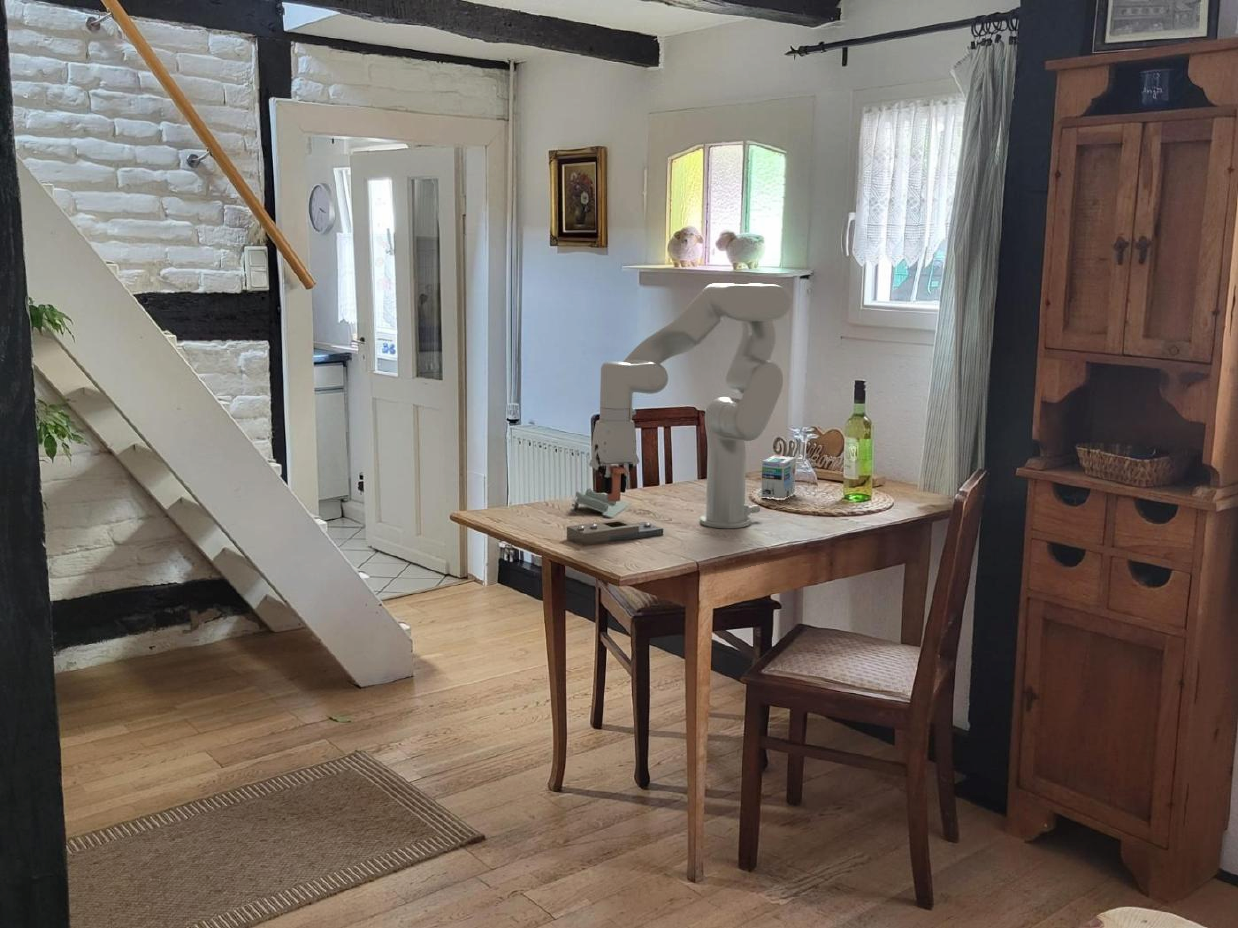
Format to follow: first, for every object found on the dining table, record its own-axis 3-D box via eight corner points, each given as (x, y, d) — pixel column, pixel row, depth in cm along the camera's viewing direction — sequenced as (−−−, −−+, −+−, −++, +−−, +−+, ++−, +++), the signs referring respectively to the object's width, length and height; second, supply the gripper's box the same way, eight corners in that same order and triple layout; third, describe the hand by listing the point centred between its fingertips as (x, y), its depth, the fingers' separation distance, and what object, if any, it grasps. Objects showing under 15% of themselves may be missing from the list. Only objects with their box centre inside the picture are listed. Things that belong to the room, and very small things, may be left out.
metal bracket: (567, 494, 291) (585, 482, 305) (561, 514, 292) (580, 502, 306) (619, 513, 288) (634, 501, 302) (612, 534, 289) (628, 521, 303)
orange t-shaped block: (611, 496, 271) (612, 463, 270) (627, 502, 266) (628, 468, 264) (600, 497, 270) (600, 464, 268) (615, 503, 264) (616, 469, 262)
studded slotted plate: (645, 527, 279) (645, 513, 278) (663, 534, 272) (663, 520, 271) (566, 538, 267) (566, 524, 266) (583, 546, 260) (583, 531, 260)
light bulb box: (783, 501, 309) (785, 462, 307) (760, 499, 312) (761, 460, 310) (795, 494, 319) (796, 456, 317) (772, 492, 322) (773, 454, 320)
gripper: (636, 411, 272) (634, 486, 275) (577, 414, 263) (575, 492, 266) (654, 415, 265) (651, 492, 268) (593, 418, 257) (591, 498, 260)
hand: (613, 491), depth 267 cm, fingers closed on orange t-shaped block, 3 cm apart
